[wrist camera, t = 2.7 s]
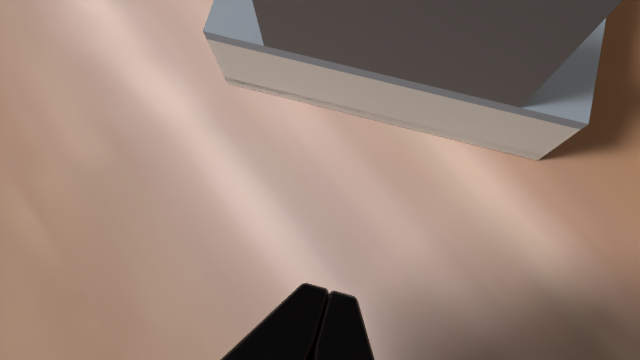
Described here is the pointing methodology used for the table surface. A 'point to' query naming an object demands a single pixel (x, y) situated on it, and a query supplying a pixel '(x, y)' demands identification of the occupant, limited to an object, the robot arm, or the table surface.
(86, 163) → the table surface
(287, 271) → the table surface
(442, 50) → the carton lid
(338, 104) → the carton
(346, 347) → the robot arm
